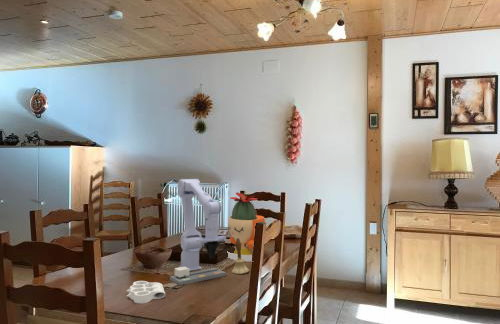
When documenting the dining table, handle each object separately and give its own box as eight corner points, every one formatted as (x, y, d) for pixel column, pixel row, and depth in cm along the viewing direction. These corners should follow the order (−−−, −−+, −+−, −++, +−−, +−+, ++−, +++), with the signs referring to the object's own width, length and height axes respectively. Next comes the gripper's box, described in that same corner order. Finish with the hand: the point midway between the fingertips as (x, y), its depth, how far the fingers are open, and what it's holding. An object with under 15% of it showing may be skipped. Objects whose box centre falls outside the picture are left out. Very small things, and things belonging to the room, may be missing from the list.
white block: (174, 274, 183) (174, 268, 183) (184, 273, 186) (184, 266, 186) (182, 278, 178) (182, 271, 178) (192, 276, 181) (192, 270, 181)
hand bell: (251, 272, 195) (249, 238, 194) (234, 275, 192) (232, 241, 192) (245, 267, 203) (243, 235, 202) (229, 270, 200) (227, 238, 199)
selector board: (170, 279, 183) (170, 275, 183) (215, 271, 198) (215, 266, 198) (179, 285, 176) (179, 280, 176) (225, 275, 191) (225, 271, 191)
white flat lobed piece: (166, 302, 158) (126, 305, 153) (161, 287, 175) (125, 289, 170) (166, 293, 157) (126, 296, 153) (161, 279, 175) (125, 281, 170)
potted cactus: (243, 263, 213) (244, 196, 212) (218, 254, 230) (219, 192, 229) (273, 257, 227) (275, 194, 226) (248, 249, 244) (249, 190, 243)
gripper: (202, 231, 178) (202, 262, 178) (230, 227, 187) (229, 257, 187) (194, 228, 183) (193, 259, 183) (221, 225, 192) (220, 254, 192)
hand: (211, 258), depth 186 cm, fingers closed
